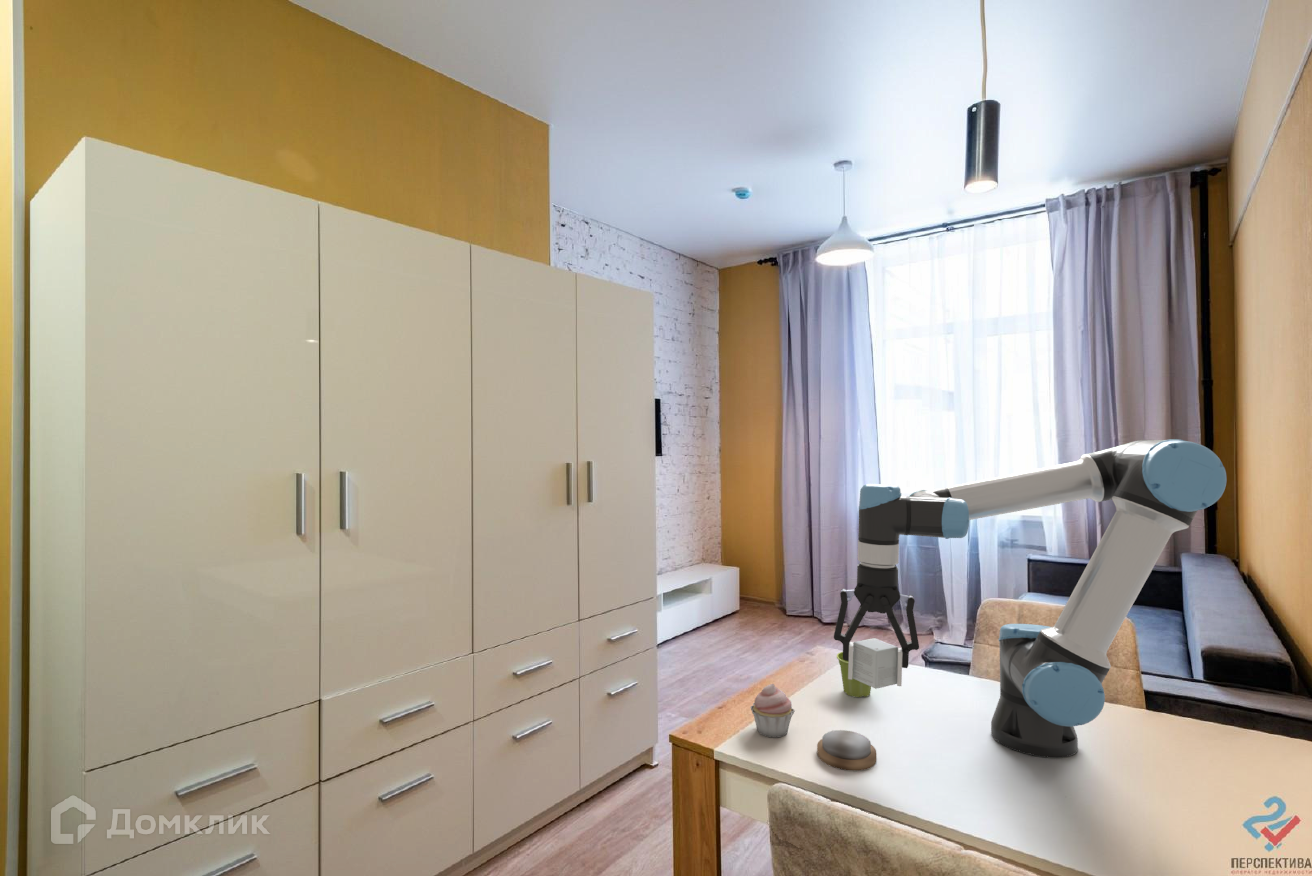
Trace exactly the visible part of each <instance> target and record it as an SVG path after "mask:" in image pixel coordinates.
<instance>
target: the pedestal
mask: <svg viewBox="0 0 1312 876" xmlns="http://www.w3.org/2000/svg"><path fill="white" fill-rule="evenodd" d="M816 750H817V751H816V753H817V758H818V759H819V760H820V761H821V762H822V763H824V764H825V765H827V766H829V767H832V768H835V769H837V770H838V769H839V770H844V771H853V772H857V771H858V772H859V771H865V770H869V769H871V768H873V767H874V766H876V763H877V749H876V748H875V746H873V744H872V743H871V740H870V739H869V738H868V737H867V736H865V735H863V734H861V733H858V732H855V731H852V730H846V729H845V730H843V729H840V730H831V731H827V732H826V733H824V734H823V736H822V737H821V739H820V740H819V741H818V742H817V744H816Z"/></svg>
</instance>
